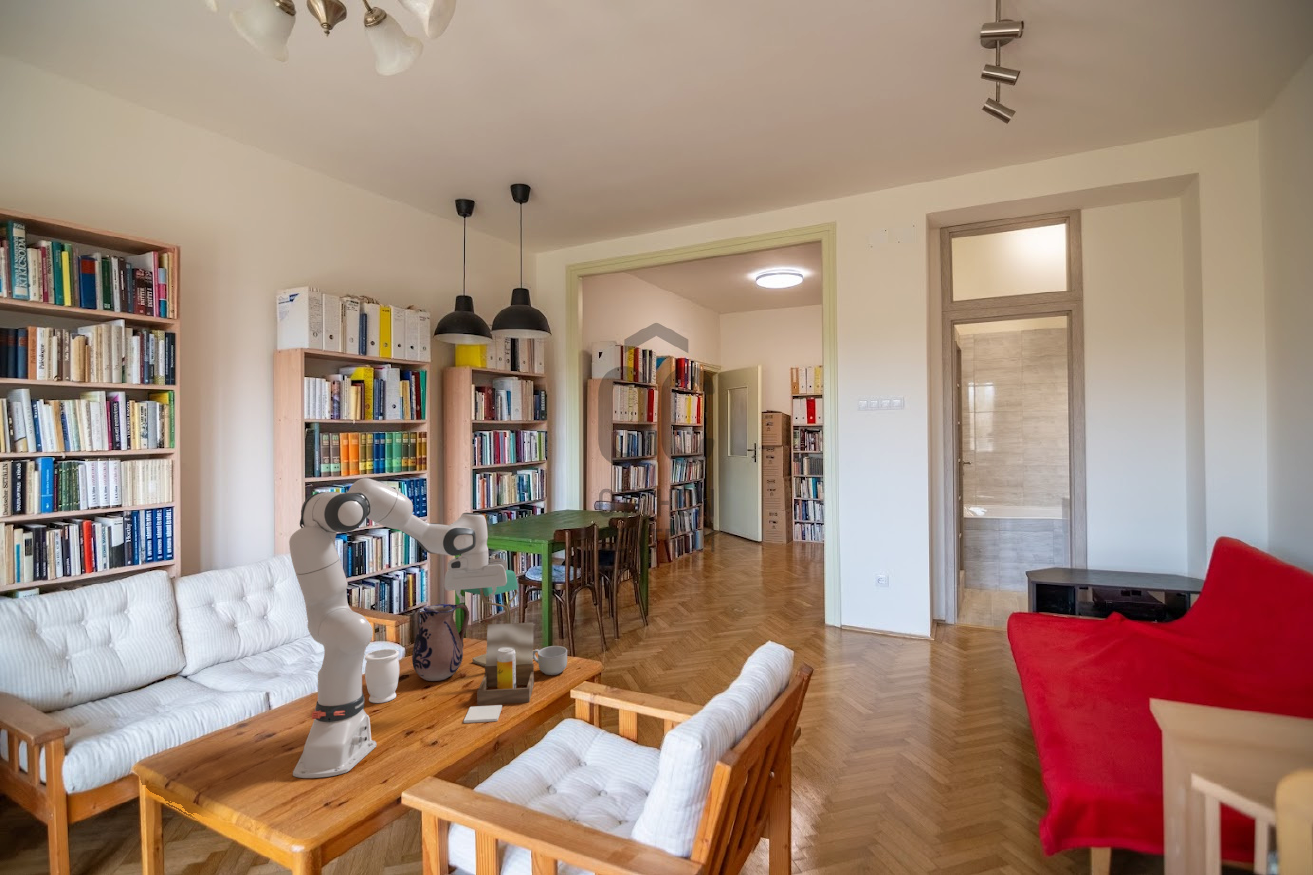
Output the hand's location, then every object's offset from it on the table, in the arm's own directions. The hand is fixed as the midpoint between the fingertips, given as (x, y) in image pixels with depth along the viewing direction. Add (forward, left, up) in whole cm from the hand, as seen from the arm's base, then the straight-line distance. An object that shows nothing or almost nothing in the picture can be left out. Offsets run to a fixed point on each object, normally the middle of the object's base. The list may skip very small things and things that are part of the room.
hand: (476, 601), depth 212 cm
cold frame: (+2, -9, -32) cm, 33 cm away
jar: (+2, +32, -32) cm, 45 cm away
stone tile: (-16, -4, -32) cm, 36 cm away
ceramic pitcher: (+21, +17, -32) cm, 42 cm away
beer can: (0, -9, -32) cm, 33 cm away
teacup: (+19, -22, -32) cm, 43 cm away
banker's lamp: (+30, -1, -32) cm, 44 cm away
